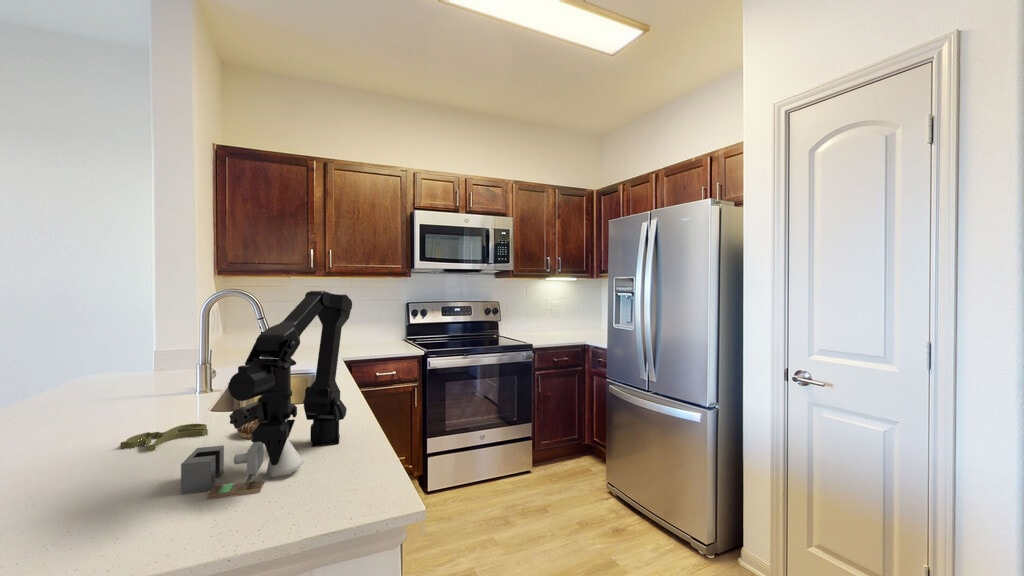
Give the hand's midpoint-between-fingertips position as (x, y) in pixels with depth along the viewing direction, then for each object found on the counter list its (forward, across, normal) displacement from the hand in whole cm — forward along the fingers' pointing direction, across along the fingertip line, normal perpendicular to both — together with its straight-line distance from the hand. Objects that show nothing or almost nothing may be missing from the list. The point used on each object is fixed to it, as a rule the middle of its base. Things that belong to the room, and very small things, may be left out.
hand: (276, 460), depth 95 cm
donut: (+3, -31, -9) cm, 32 cm away
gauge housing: (+3, +2, -9) cm, 10 cm away
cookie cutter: (+3, -33, -31) cm, 46 cm away
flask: (+3, 0, +2) cm, 3 cm away
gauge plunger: (+1, +2, -6) cm, 6 cm away
